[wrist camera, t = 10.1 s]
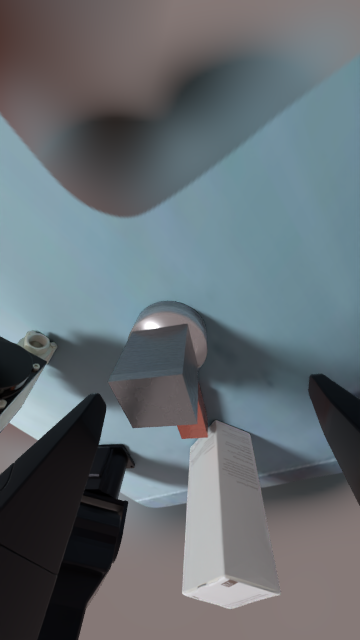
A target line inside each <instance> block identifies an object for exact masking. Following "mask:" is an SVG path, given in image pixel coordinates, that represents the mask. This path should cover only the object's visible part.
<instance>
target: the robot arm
mask: <svg viewBox="0 0 360 640" xmlns="http://www.w3.org/2000/svg"><path fill="white" fill-rule="evenodd" d="M308 392H309V396H310V398H311V401H312V404H313V406H314V409H315V412H316V414H317V417H318V420H319V423H320V425H321V428H322V430H323V433H324V435H325V437H326V439H327V442H328V444H329V446H330V448H331V450H332V452H333V454H334V456H335V458H336V460H337V462H338V464H339V466H340V467H341V469H342V471H343V473H344V475H345V477H346V479H347V481H348V483H349V485H350V487H351V489H352V491H353V493H354V495H355V497H356V499H357V501H358V503H359V505H360V400H359V399H358V398H357V397H355V396H354V395H352V394H351V393H349V392H348V391H346V390H345V389H344V388H342V387H341V386H339V385H338V384H336V383H335V382H334V381H332V380H331V379H329V378H328V377H326V376H325V375H323V374H312V375H310V377H309V387H308ZM105 413H106V404H105V402H104V400H103V399H102V397H101V395H100V394H99V393H95V394H90V395H88V396H87V397H86V398H85V399H84V400H83V401H82V402H80V403H79V404H78V405H77V406H76V407H75V408H74V409H73V410H72V411H70V412H69V413H68V414H67V415H66V416H65V417H64V418H63V419H62V420H60V421H59V422H58V423H57V424H56V425H55V426H54V427H53V428H52V429H50V430H49V431H48V432H47V433H46V434H45V435H44V436H43V437H42V438H40V439H39V440H38V441H37V442H36V443H35V444H34V445H33V446H32V447H30V448H29V449H28V450H27V451H26V452H25V453H24V454H23V455H22V456H21V457H19V458H18V459H17V460H16V461H15V463H13V464H11V465H10V466H9V467H8V468H7V469H6V470H5V471H4V472H3V473H1V474H0V640H78V638H79V634H80V630H81V626H82V622H83V618H84V614H85V610H86V608H87V607H88V605H89V604H90V602H91V601H92V599H93V598H94V596H95V595H96V593H97V592H98V590H99V588H100V586H101V585H102V582H103V581H104V579H105V577H106V575H107V573H108V571H109V570H110V567H111V564H112V563H114V561H115V559H116V557H117V554H118V551H119V547H120V544H121V539H122V535H123V529H124V523H125V517H126V512H127V506H128V501H122V500H118V496H119V492H120V489H121V485H122V481H123V478H124V474H125V470H126V468H134V467H135V463H134V462H133V460H132V458H131V457H130V455H129V454H128V452H127V450H126V449H125V447H124V446H123V445H101V446H98V445H99V441H100V437H101V432H102V427H103V423H104V418H105Z"/></svg>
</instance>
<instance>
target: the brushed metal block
mask: <svg viewBox="0 0 360 640" xmlns="http://www.w3.org/2000/svg"><path fill="white" fill-rule="evenodd" d="M108 383H109V385H110V387H111V389H112V391H113V392H114V394H115V396H116V398H117V400H118V402H119V403H120V405H121V407H122V409H123V411H124V413H125V414H126V416H127V418H128V420H129V422H130V424H131V425H132V427H133V428H142V427H159V426H176V425H193V424H197V415H198V363H197V359H196V355H195V351H194V347H193V343H192V339H191V335H190V331H189V327H188V323H187V324H180V325H173V326H167V327H160V328H153V329H146V330H140V331H133V332H132V333H131V335H130V337H129V339H128V341H127V343H126V346H125V348H124V350H123V352H122V354H121V356H120V358H119V360H118V362H117V364H116V366H115V368H114V370H113V372H112V374H111V376H110V378H109V380H108Z"/></svg>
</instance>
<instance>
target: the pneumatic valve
mask: <svg viewBox="0 0 360 640" xmlns="http://www.w3.org/2000/svg"><path fill="white" fill-rule="evenodd" d="M56 349H57V345H56V343H54V342H52V343H50V342H49V339H48V338H47V337H46V336H45V335H43V334H40V333H36V332H35V331H28V332H27V333H26V336H25V337H24V338H22V339H21V340H20V341H19V342H18V344H15V343H12V342H10V341H8V340H6V339H4V338H2V337H0V433H1V431H2V430H3V429H4V428H5V427H6V425H7V424H8V423H9V422H10V421H11V419H12V418H13V417H14V416H15V414H16V413H17V412H18V411H19V410H20V408H21V407H22V405H23V404H24V402H25V400H26V398H27V397H28V395H29V393H30V391H31V390H32V388H33V386H34V384H35V383H36V381H37V379H38V377H39V376H40V374H41V372H42V370H43V369H44V367H45V365H47V364H48V363H49V361H50V359H51V357H52V356H53V354H54V352H55V350H56Z"/></svg>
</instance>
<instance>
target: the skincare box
mask: <svg viewBox="0 0 360 640" xmlns="http://www.w3.org/2000/svg"><path fill="white" fill-rule="evenodd" d="M182 594H183V595H185V596H188V597H191V598H195V599H198V600H201V601H205V602H209V603H212V604H216V605H219V606H222V607H225V608H228V609H233V608H236V607H240V606H242V605H245V604H248V603H252V602H255V601H258V600H262V599H266V598H269V597H272V596H277V595H281V591H280V587H279V581H278V577H277V571H276V566H275V561H274V555H273V551H272V545H271V540H270V535H269V530H268V525H267V519H266V514H265V509H264V503H263V498H262V493H261V487H260V482H259V477H258V472H257V466H256V461H255V456H254V451H253V446H252V441H251V435H250V434H249V433H247V432H245V431H242V430H240V429H237V428H235V427H232V426H230V425H228V424H225V423H223V422H220V421H217V420H215V421H214V422H213V423H212V424H211V425H210V426H209V428H208V438H199V439H198V440H197V441H196V442H195V443H194V444H193V445H192V446H191V448H190V462H189V480H188V497H187V516H186V533H185V551H184V569H183V588H182Z"/></svg>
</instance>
